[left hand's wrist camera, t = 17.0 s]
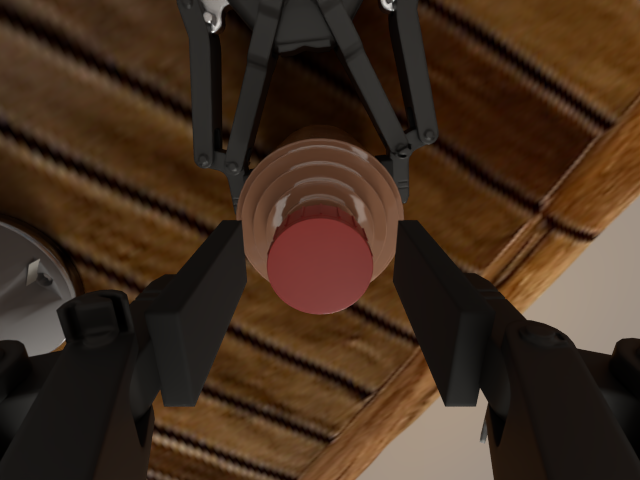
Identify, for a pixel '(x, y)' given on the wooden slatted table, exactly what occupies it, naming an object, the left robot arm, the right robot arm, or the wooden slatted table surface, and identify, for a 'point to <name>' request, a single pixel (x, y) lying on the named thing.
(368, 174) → the bottle
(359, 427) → the wooden slatted table surface
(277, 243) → the cap
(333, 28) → the right robot arm
